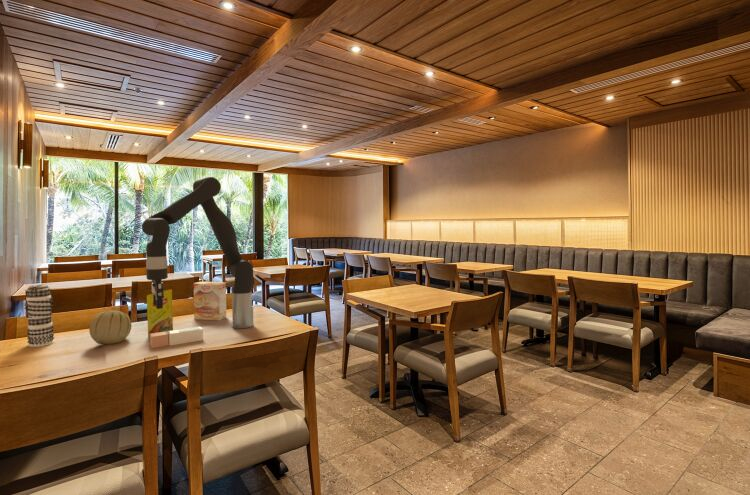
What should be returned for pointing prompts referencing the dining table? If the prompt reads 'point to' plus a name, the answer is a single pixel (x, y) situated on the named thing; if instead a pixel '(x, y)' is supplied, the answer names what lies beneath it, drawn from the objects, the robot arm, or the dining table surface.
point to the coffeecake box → (209, 300)
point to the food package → (160, 314)
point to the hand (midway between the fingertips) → (158, 306)
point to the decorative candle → (39, 316)
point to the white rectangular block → (185, 335)
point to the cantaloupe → (110, 327)
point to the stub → (159, 339)
